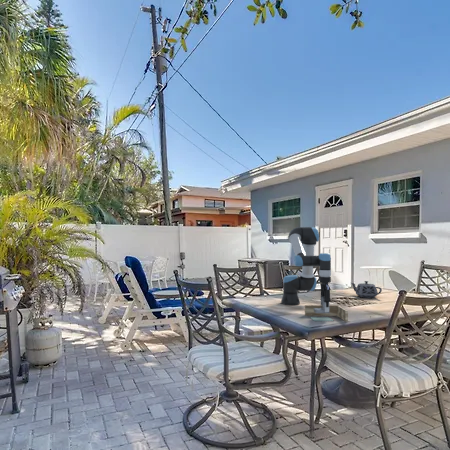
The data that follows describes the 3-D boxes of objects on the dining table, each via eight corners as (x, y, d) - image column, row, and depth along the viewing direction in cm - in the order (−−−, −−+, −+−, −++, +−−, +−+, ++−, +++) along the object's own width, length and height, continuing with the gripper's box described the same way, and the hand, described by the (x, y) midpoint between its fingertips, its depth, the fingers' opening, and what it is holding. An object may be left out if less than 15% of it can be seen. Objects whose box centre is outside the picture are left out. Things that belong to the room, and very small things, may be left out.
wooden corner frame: (304, 315, 233) (304, 305, 233) (338, 315, 232) (338, 305, 233) (311, 321, 215) (311, 310, 215) (348, 321, 214) (347, 310, 215)
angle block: (326, 311, 224) (326, 296, 224) (329, 313, 218) (329, 297, 218) (313, 311, 224) (313, 296, 224) (315, 313, 218) (315, 297, 218)
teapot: (355, 293, 326) (355, 278, 327) (386, 298, 302) (386, 281, 303) (345, 295, 314) (344, 280, 315) (376, 300, 290) (376, 283, 291)
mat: (310, 317, 226) (310, 316, 226) (329, 317, 226) (329, 317, 226) (314, 321, 216) (314, 320, 216) (333, 321, 216) (333, 320, 216)
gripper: (315, 274, 231) (315, 307, 230) (323, 277, 212) (324, 314, 211) (326, 274, 231) (326, 308, 230) (335, 277, 212) (335, 314, 211)
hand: (325, 310), depth 221 cm, fingers closed on angle block, 6 cm apart
